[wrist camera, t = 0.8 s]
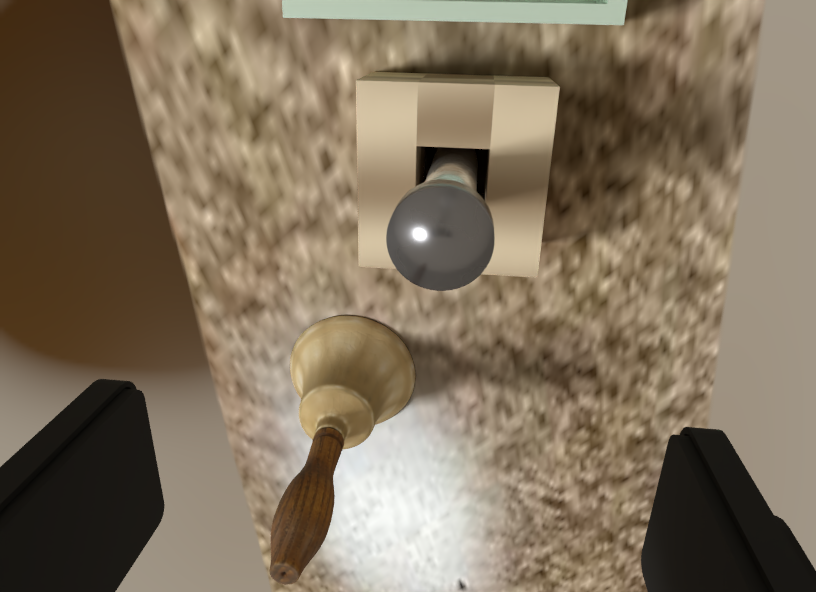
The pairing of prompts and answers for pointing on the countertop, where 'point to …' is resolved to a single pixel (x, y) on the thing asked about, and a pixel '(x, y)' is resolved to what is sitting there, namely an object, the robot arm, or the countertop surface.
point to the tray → (464, 10)
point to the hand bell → (334, 423)
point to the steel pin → (443, 225)
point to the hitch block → (457, 128)
